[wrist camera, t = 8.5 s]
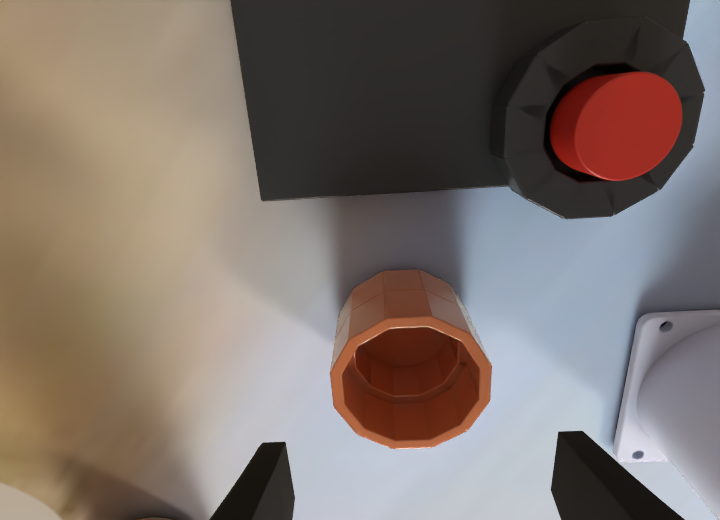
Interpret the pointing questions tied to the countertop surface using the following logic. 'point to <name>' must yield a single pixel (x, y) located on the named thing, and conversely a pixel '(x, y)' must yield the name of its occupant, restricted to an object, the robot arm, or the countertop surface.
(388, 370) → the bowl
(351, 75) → the scale
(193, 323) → the countertop surface
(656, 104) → the button
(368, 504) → the countertop surface
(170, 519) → the soda can
